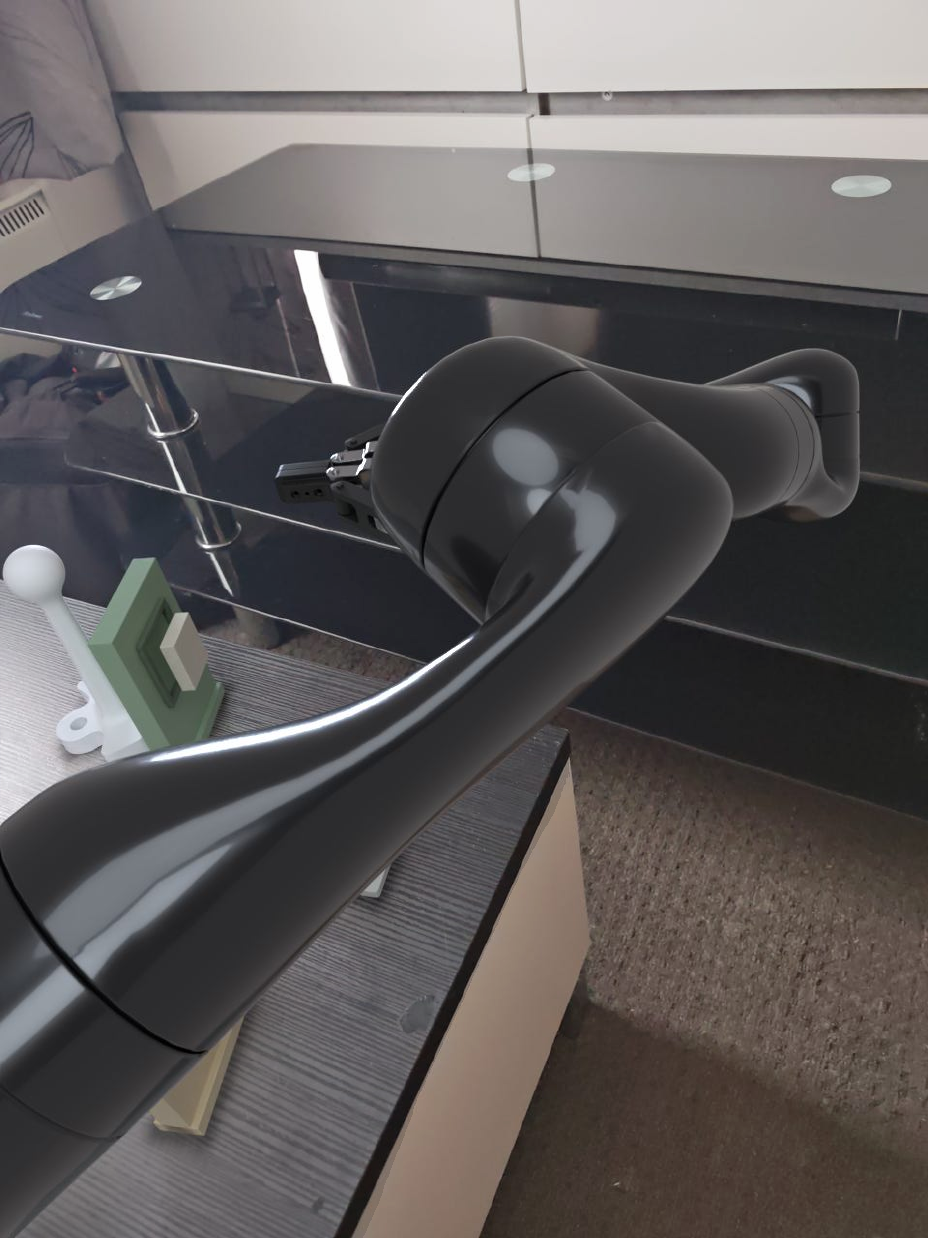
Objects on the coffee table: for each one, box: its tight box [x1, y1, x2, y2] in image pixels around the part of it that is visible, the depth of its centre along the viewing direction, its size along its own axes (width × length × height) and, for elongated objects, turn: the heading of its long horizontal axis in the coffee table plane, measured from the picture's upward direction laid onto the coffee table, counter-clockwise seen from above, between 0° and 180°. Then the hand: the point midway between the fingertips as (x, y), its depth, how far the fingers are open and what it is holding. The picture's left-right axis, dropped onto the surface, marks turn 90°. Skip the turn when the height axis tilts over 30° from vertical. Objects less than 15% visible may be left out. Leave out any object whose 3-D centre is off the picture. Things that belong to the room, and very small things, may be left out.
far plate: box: [87, 557, 226, 751], centre depth 76 cm, size 3×10×16 cm, turn 176°
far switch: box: [160, 612, 210, 691], centre depth 74 cm, size 1×4×5 cm, turn 176°
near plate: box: [148, 1014, 246, 1137], centre depth 54 cm, size 3×10×16 cm, turn 171°
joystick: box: [2, 544, 150, 762], centre depth 77 cm, size 11×8×20 cm
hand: (279, 484), depth 62 cm, fingers closed
